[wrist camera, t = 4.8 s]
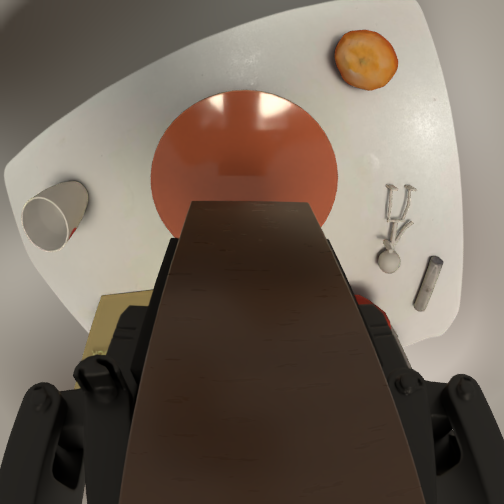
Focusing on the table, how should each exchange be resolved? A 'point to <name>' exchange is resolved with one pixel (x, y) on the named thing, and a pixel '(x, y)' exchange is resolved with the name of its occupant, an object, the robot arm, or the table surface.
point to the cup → (54, 215)
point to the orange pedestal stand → (242, 156)
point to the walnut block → (262, 374)
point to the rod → (428, 283)
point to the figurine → (394, 235)
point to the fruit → (365, 59)
